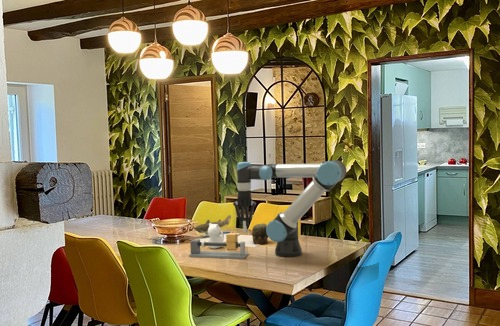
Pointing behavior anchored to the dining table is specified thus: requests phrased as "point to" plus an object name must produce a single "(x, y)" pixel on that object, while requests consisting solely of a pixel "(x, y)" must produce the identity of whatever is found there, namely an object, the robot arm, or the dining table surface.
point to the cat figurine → (215, 235)
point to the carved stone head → (259, 234)
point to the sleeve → (232, 241)
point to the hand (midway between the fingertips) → (245, 232)
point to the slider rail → (216, 254)
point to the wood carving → (204, 227)
